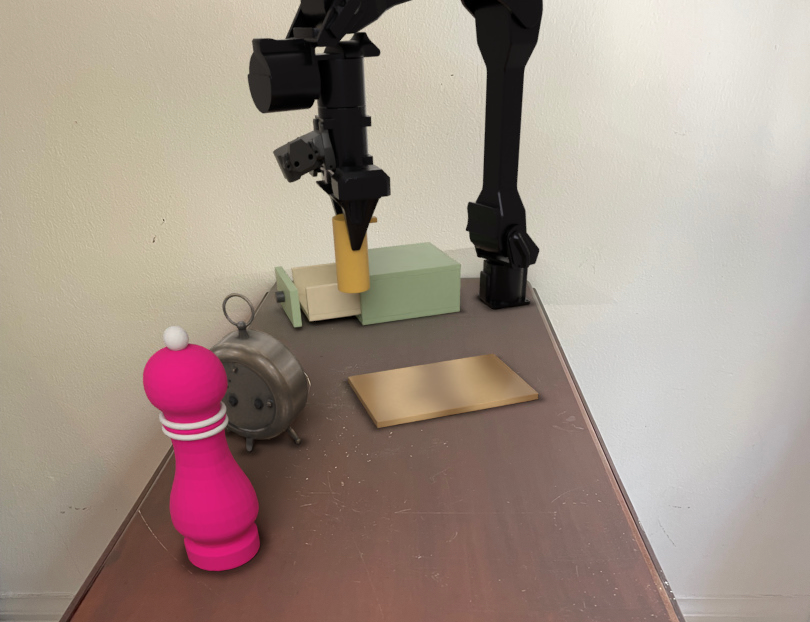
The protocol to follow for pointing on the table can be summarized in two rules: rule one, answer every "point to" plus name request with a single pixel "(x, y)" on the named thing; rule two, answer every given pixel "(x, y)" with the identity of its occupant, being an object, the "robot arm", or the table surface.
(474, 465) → the table surface
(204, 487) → the pepper mill
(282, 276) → the drawer
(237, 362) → the alarm clock
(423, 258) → the cabinet
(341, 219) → the yellow cylinder
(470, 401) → the board
